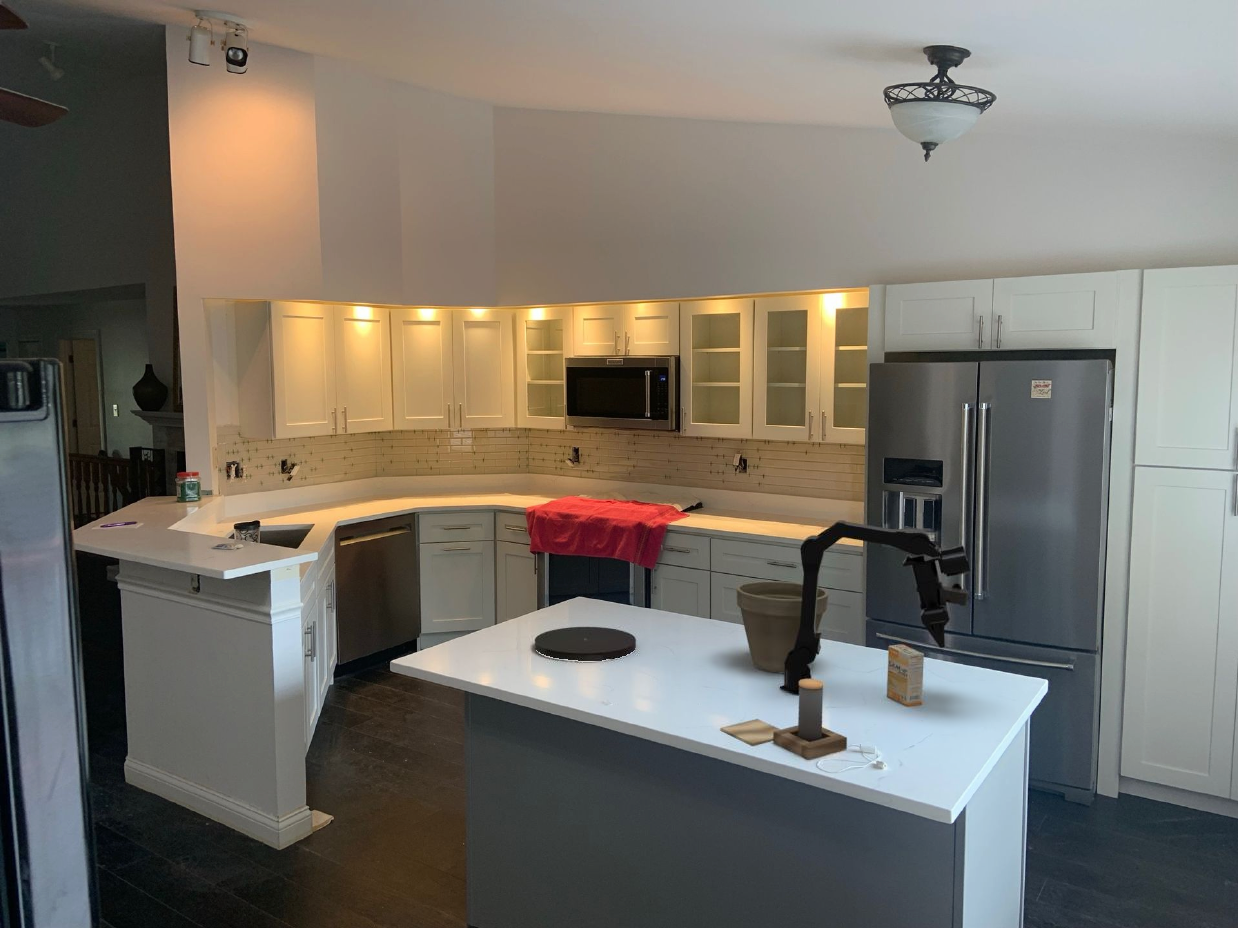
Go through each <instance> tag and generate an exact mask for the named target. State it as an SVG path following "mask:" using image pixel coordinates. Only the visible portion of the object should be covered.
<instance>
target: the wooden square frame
mask: <svg viewBox="0 0 1238 928" xmlns="http://www.w3.org/2000/svg"><path fill="white" fill-rule="evenodd" d="M780 729H781V728H780ZM772 743H773V744H775V745H777V746H779V747H780V748H784V749H785V750H788V751H790V752H792V753H793V754H795V755H798V756H800V757H802V758H804V757H805V758H804V759H807V760H809V761H810V760H813V759H816V757H817V758H821V757H824V756H826V755H831V754H834V753H838V752H841V751H845V750H847V747H848V746H847V745H848V737H846V736H845V735H842V734H839V733H837V732H835V731H832V730H830V729H828V728H825V727H824V726H822V739H820V740H816V741H813V742H808V741H806V740H803V739H801V738H799V737H798V724H797V725H794V726H790V727H787V728H782V729H781V730H778V731H774V732H773V741H772Z"/></svg>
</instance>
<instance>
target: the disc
mask: <svg viewBox="0 0 1238 928" xmlns="http://www.w3.org/2000/svg"><path fill="white" fill-rule="evenodd" d="M635 648H636V649H637V639H636V637H635V635H634V634H631V632H627V631H625V630H620V629H616V628H610V627H601V626H600V627H599V626H574V627H571V626H570V627H562V628H556V629H555V628H554V629H552V630H548V631H544V632H542V633H540V634H539V635H536V637H535V638H534V650H535V649H536V650H537V651H538V652H540V653H541V654H544V655H546V656H550V657H553V658H559V659H568V660H578V661H602V660H606V659H615V658H620V657H622V656H626V655H627V654H630V653H631V652H633V651H634V650H635V651H636V649H635ZM536 650H535V651H536ZM635 651H634V652H635ZM634 652H633V653H634ZM626 657H627V656H626ZM620 659H621V658H620Z"/></svg>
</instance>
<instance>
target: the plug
mask: <svg viewBox="0 0 1238 928" xmlns="http://www.w3.org/2000/svg"><path fill="white" fill-rule="evenodd" d="M824 684H825V683H824V682H823V681H822V680H819V679H815V678H811V679H802V680H800V681H799V695H798V717H797V718H798V723H797V725H798V737H799V738H801V739H803V740H806V741H808V742H813V741H816V740H820V739H822V727H823V702H824V701H823V698H824V697H823V696H824Z"/></svg>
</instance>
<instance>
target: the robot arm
mask: <svg viewBox="0 0 1238 928" xmlns="http://www.w3.org/2000/svg"><path fill="white" fill-rule="evenodd" d="M844 538H845V539H849V540H850V539H851V540H856V541H862V542H868V543H874V544H878V545H886V546H890V547H894V548H896V549H898V550H900V551H903V552H905V553H908V554H906V557H905V559H904V560H903V561H902V566H903V567H909V566H910V567H911V571H912V574H913V580H914V583H915V588H916V589H915V590H916V593H917V596H918V600H919V605H920V610H921V612H920V619H921V623H922V625H923V626H924V628H925V629H926V630H927V631H928V633H929V634H930V635H931V637H932V639H933V640H934V641H935V643H936V644H937V645H938V647H939V648H941V649H942V648H944V649H945V646H946V644H945V643H946V642H945V641H946V640H945V638H946V637H945V626H946V625H947V624H948V623H949V622H950V619H951V618H950V615H949V611H948V607H947V606H948V605H947V603H948V604H954V605H960V606H962V607H966V606H967V604H968V596H969V592H968V590H967V589H966V588H962V585H961V583H960V582H953V583H952V584H951V586H949V585H948V586H943V582H942V581H940V576H939V571H938V567H939V570H940V573H941V575H942V574H943V575H945V576H946V577H954V576H959V575H966V574H970V573H971V569H970V564H969V559H968V557H967V556H966V550H965V548H964V545H963V544H960V545H956V546H954V547H949V548H943V549H941V548H940V547H939V545H936V544H935V543H934V542H933V541H932V540H931V538H930V535H929V533H928V532H927V531H926V530H924V529H923V528H896V529H895V528H894V529H893V528H887V527H886V528H885V527H881V526H880V527H879V526H874V525H869V524H862V523H855V522H850V521H846V520H844V519H840V520H837V521H836V522H835V523H833V525H831V526H829V527H828V528H826V529H824V530H823V531H821V532H820V533H819V534H817V535H816V534H815V535H814V534H813V535H810V536H807V537H806V538H805V539H804V540H803V542H802V543H801V545H800V559H801V567H802V571H803V576H802V584H803V590H802V604H801V618H800V628H799V631H798V635H797V638H796V642H795V646H794V649H793V650H791V651H790V652H789V653H788V655H787V657H786V660H785V662H784V664H785V667H784V673H783V674H784V675H783V678H784V679H783V685H780V686H779V689H781V690H783V691H786V692H788V693H790V694H793V695H797V696H799V681H800V680H802V679H812V674H811V667H809V664H812V663H813V662H814V661H815V660H816V657H817V655H820V652H821V649H822V645H821V640H822V639H821V638H822V635H823V634H822V632H817V633H816V627H815V621H816V607H817V594H818V587H819V580H820V579H819V577H820V576H819V575H820V571H821V566H822V564H823V560H824V557H825V553H826V550H828V549H829V548H830V547H832V546H833V545H835V544H836V543H837V542H839V540H841V539H844ZM910 554H912V555H914V556H911V555H910ZM925 555H926V556H927V557H925ZM937 561H938V567H937V563H936V562H937Z"/></svg>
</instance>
